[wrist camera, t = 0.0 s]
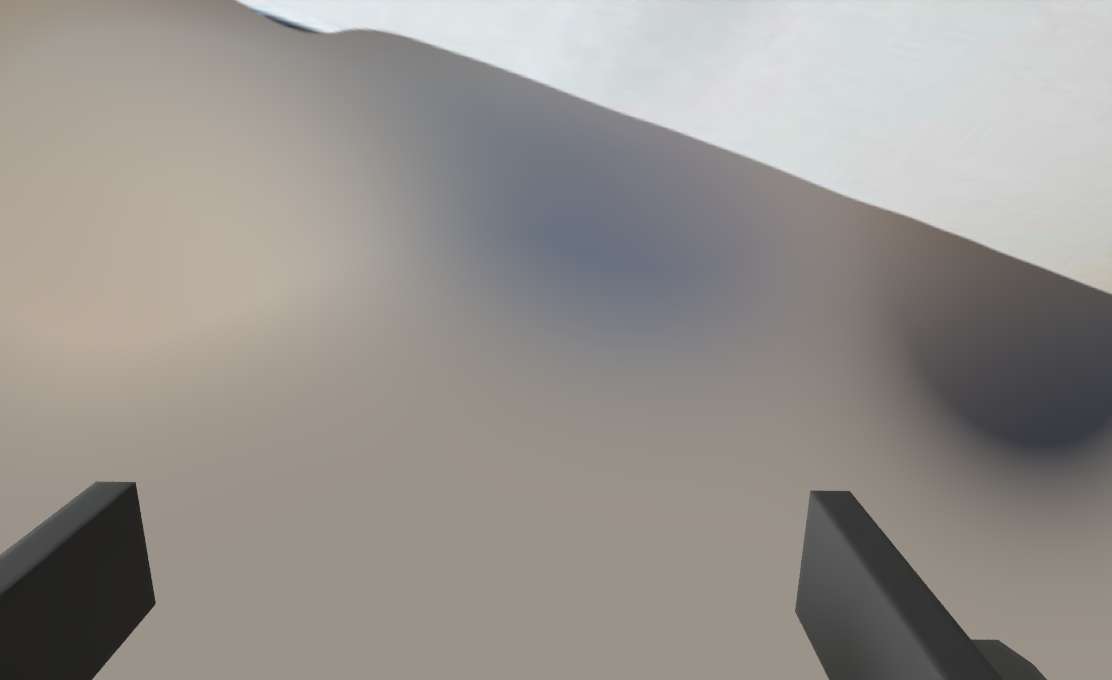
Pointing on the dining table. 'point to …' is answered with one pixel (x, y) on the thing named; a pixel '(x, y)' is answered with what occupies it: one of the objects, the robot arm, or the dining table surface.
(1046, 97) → the dining table surface
